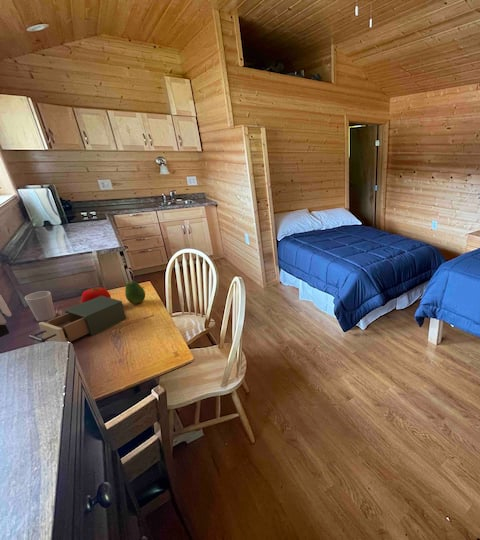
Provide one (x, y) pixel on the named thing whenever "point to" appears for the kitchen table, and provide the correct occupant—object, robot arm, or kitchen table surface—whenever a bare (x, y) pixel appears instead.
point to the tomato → (94, 294)
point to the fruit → (134, 292)
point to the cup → (41, 305)
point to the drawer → (56, 333)
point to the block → (63, 327)
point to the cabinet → (99, 313)
